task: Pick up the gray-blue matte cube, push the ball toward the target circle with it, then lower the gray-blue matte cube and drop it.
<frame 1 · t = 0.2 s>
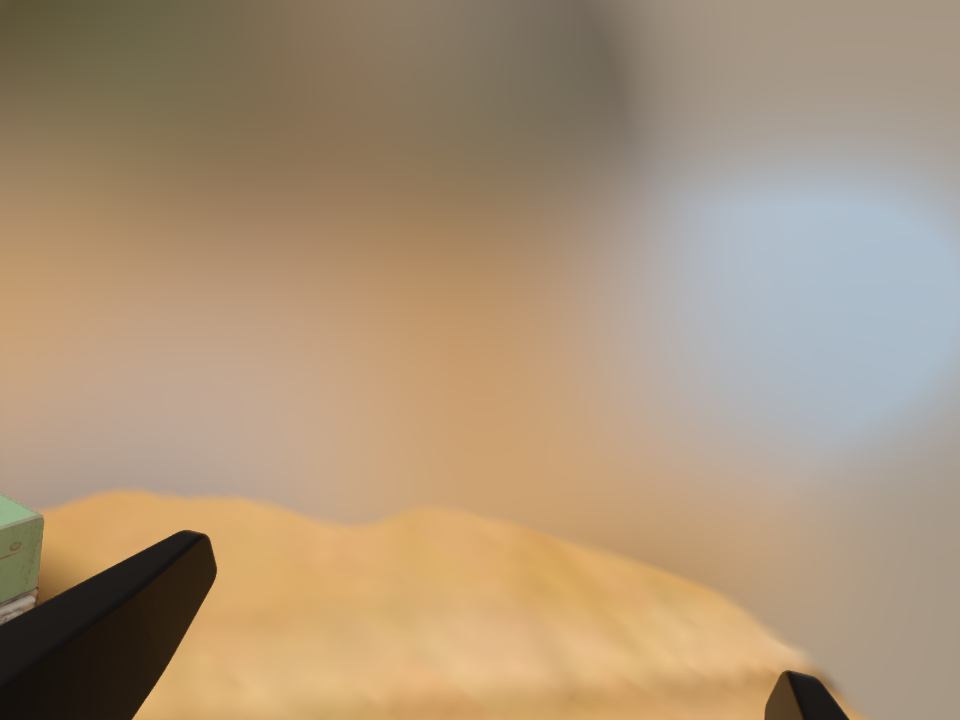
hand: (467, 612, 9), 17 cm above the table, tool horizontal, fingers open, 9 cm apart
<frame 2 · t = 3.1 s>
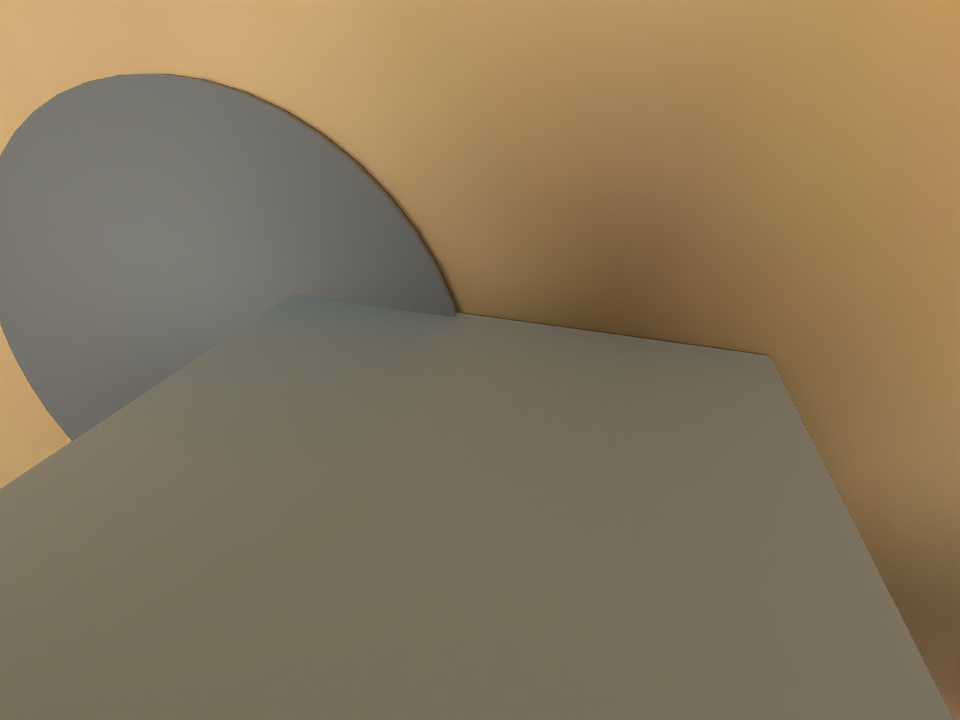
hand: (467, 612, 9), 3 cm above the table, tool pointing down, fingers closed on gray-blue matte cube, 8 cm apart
target circle: (223, 362, 11), on the table
gray-blue matte cube: (500, 501, 11), on the table, touching gripper
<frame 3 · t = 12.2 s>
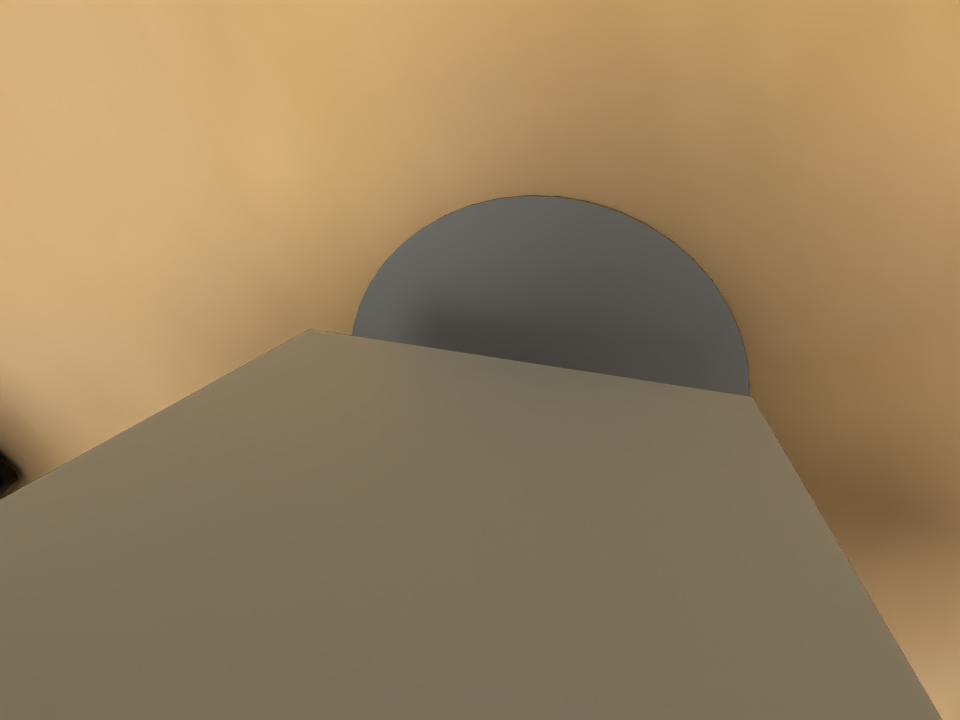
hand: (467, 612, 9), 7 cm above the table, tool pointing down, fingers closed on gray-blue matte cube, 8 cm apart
target circle: (534, 394, 14), on the table
gray-blue matte cube: (494, 543, 11), point 4 cm above the table, tilted 8°, touching ball, gripper
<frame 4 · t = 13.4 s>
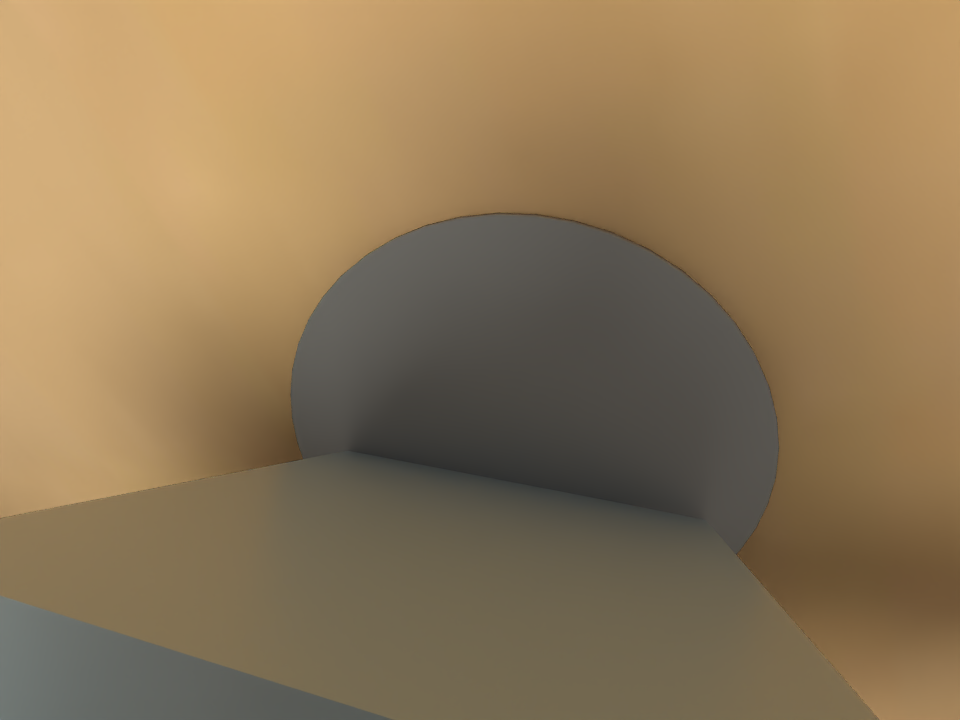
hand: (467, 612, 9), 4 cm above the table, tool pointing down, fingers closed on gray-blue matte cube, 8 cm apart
target circle: (513, 451, 12), on the table
gray-blue matte cube: (488, 662, 12), point 2 cm above the table, tilted 31°, touching gripper
when the fingers open (4 cm above the table, at t = 13.5 s): gray-blue matte cube drops 2 cm, on the table.
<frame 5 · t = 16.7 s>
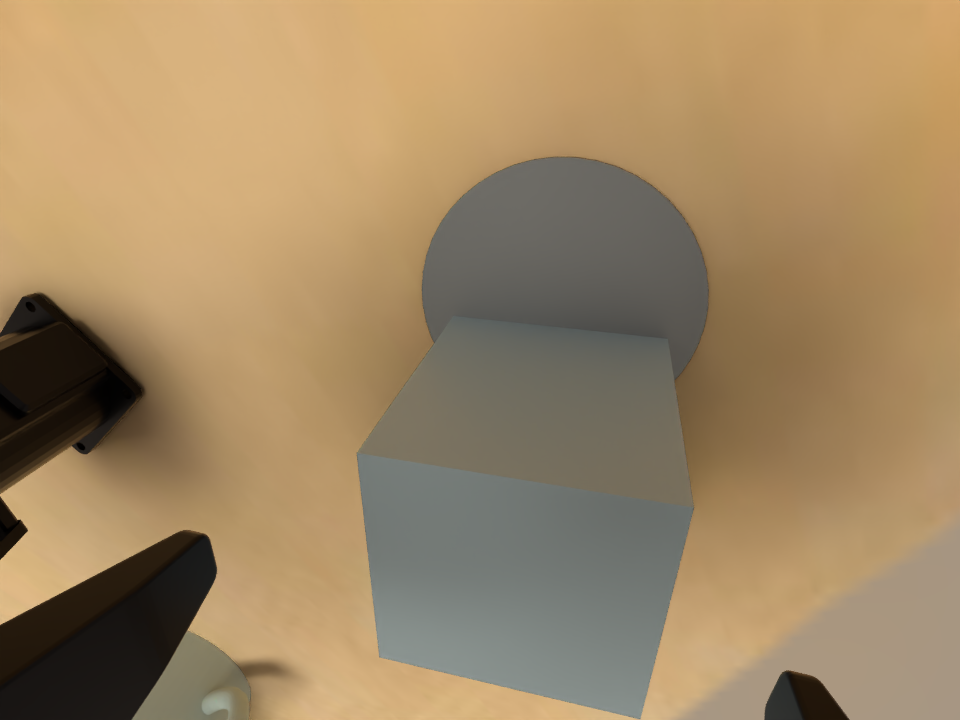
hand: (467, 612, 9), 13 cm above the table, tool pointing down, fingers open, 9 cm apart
mug: (214, 664, 37), on the table
target circle: (557, 304, 20), on the table
gray-blue matte cube: (549, 413, 22), on the table
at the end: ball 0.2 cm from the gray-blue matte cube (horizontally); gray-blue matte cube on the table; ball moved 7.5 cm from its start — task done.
